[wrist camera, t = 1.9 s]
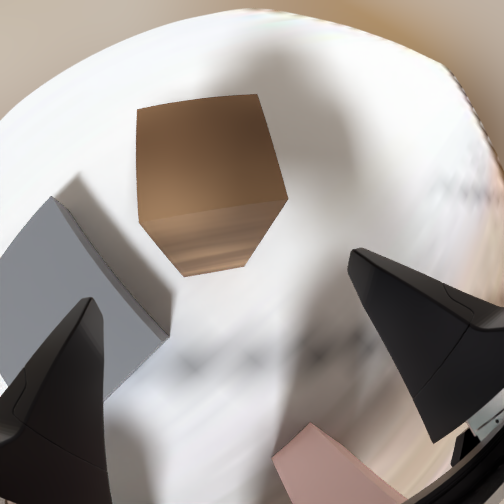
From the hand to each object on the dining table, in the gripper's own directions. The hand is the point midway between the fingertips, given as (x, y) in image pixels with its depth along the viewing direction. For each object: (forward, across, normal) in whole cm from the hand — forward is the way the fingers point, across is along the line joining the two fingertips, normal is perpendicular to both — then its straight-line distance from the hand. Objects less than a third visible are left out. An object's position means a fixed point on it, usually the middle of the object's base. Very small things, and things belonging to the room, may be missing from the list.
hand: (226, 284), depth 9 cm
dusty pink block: (-2, -4, +18) cm, 19 cm away
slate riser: (+8, +14, +8) cm, 18 cm away
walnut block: (+11, 0, +5) cm, 12 cm away
